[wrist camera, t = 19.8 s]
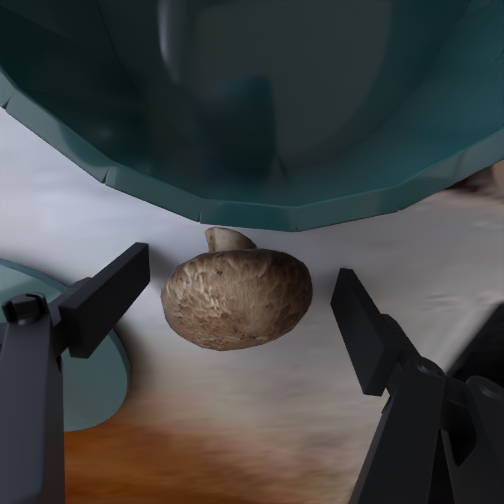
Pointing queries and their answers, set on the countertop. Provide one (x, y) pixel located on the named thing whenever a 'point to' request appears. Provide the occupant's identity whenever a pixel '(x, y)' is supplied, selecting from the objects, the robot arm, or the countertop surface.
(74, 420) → the lid
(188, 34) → the pot
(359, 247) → the countertop surface
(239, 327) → the mushroom
